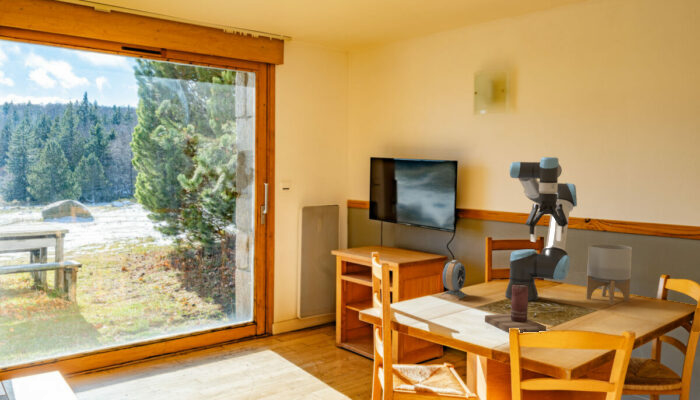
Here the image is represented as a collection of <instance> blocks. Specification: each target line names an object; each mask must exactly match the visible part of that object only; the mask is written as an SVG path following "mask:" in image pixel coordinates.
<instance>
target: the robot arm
mask: <svg viewBox="0 0 700 400" xmlns="http://www.w3.org/2000/svg"><path fill="white" fill-rule="evenodd" d="M562 169H563V168H562V166H561V165H560V163H559V158H558V157H556V156H555V157H550V156H545V157H541V158H540V161H539V162H537V161H536V162H535V161H512V162H511V163H510V165H509V176H510V178H512V179H518V180H519V183H520V184H521V186H522V188H523V193H524V196H526V197H527V198H528V199H529V200H530V201H531V202H533V204H532V207H531V208H532V209H531V211H530V213H529V215H528V218H527V219H526V221H525V225H526V226H528V227H529V235H530V242H533V243H536V242H537V224H538V222H539V221H540V220H541V218H543V216H544V215H550V216H549V217H550V218H549V224H548V230H547V238H546V245H545V247H543V249H542V250H541V253H538V252H537V251H536V250H535V249H532V248H531V249H530V248H529V249H528V248H526V249H518V250H513V251H511V253H510V258H509V280H508V283H507V287H506V290H505V291H504V292H505V294H504V295H505V296H504V297H505V298H507V299H510V300H512V286H513V284H523V285H527V287H528V302H531V301H537V300H538V299H539V293H538V289H537V285H536V281H535V280H536V278H538V279H545V280H546V279H547V280H555V281H558V280H559V281H560V280H561V281H564V280H566V279H567V277H568V275H569V271H570V266H571V257H570V256H569V255H568V252H567V250H566V242H567V236H568V235H567V233H568V226H569V217H570V213H571V212H572V211H573V209H574V208H575V207H577V206H578V199H577V186H576V185H575V184H574V183H568V182H564V183H561V182H558V181H559V180H558V179H559V177H560V176H561V174H562V171H563V170H562ZM538 180H539V181H538Z"/></svg>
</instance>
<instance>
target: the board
mask: <svg viewBox="0 0 700 400" xmlns="http://www.w3.org/2000/svg"><path fill="white" fill-rule="evenodd" d="M484 322H485V323H487V324H489V325H491V326H493V327H495V328H497V329H499V330H502V331H503V332H505V333H507V332H508V333H507V334H509V328H519V330H520V333H523V332H539V331H546V332H547V326H546V325H544V324H541V323H539V322H536V321H534V320H532V319H529V318H527V321H526V322H515V321H512V319H511V312H510V313H499V314H487V315H484Z"/></svg>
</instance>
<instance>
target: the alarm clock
mask: <svg viewBox="0 0 700 400" xmlns="http://www.w3.org/2000/svg"><path fill="white" fill-rule="evenodd" d="M466 274H467V273H466V268H465V265H464V264H463V263H462V262H460V261H459V260H458V259H452V260H451V261H449V262H448V263H446V264H445V265H444V268H443V271H442V283H443V287H444V288H446V289H447V290H448V291H446V292H444V293H442V294H441V295H440V296H439V298H441V297H445V298H444V299H448V298H452V299H451V300H454V299H458V300H457V301H459V299H460V300H461V298H462V299H464V298H465V297H467V296H468V294H467V293H465V292H463V291H462V288H463V287H464V285H465V282H466ZM466 295H467V296H466Z"/></svg>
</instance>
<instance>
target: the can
mask: <svg viewBox="0 0 700 400" xmlns="http://www.w3.org/2000/svg"><path fill="white" fill-rule="evenodd" d="M528 304H529V301H528V287H527V285H523V284H513V286H512V299H511V305H510V306H511V307H510V313H511V319H512V321H515V322H526V321H527V319H528V309H529V308H528V307H529V306H528Z"/></svg>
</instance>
